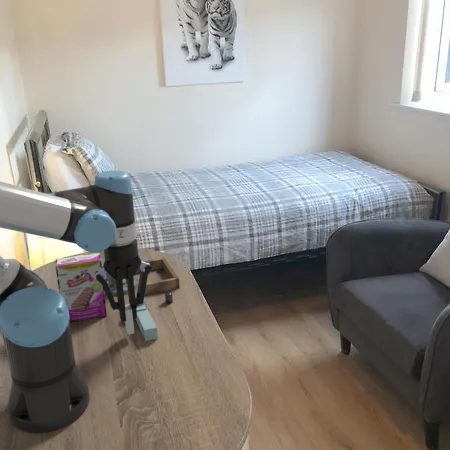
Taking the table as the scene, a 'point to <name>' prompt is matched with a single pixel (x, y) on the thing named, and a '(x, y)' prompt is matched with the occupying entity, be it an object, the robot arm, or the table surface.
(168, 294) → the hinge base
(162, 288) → the seat frame
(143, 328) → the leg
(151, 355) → the table surface
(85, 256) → the candy bar box
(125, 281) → the figurine
